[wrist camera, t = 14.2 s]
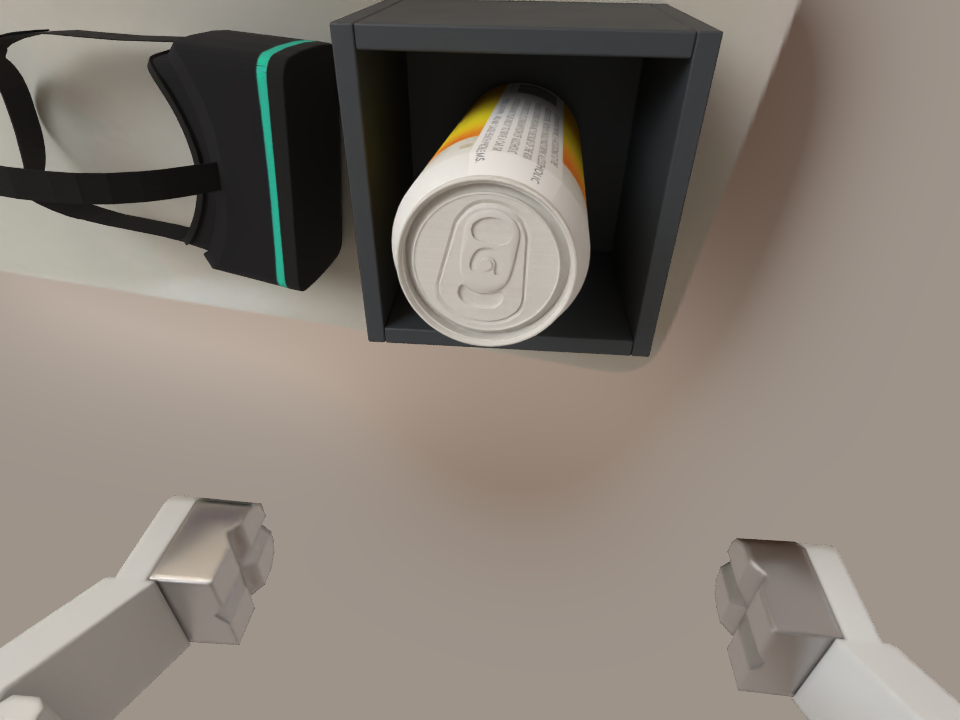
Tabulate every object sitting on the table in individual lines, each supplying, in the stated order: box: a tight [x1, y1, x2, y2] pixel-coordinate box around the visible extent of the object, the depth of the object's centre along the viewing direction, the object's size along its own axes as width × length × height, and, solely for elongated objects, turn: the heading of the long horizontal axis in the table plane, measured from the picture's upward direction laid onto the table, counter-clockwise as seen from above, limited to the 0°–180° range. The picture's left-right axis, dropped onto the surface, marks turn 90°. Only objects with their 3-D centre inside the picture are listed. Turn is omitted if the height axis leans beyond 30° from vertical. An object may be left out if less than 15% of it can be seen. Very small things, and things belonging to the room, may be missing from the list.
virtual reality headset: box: [0, 29, 342, 291], centre depth 27 cm, size 11×17×10 cm, turn 83°
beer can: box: [392, 83, 590, 347], centre depth 23 cm, size 6×6×15 cm
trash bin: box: [330, 0, 723, 357], centre depth 26 cm, size 13×13×10 cm
